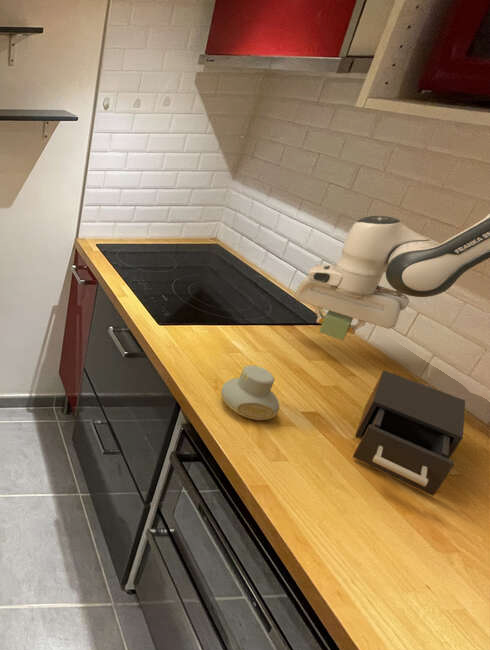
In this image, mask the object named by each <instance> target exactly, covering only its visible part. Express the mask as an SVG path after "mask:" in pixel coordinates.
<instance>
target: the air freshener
mask: <svg viewBox="0 0 490 650" xmlns="http://www.w3.org/2000/svg"><path fill="white" fill-rule="evenodd" d="M274 383H275V376H274V374H272V373H271V372H270V371H269V370H267V369H266V368H263V367H261V366H258V365H246V366H245V365H244V367H243V368H242V370H241V373H240V375H239V377H235V378H232V379H231V378H230V379H229V380H227V381H226V382H225V383H223V385H222V387H221V397H222V399H223V401H224V402H225V404H226V406H228V407H229V408H230V409H231V410H232V411H233V412H235V413H236V414H238V415H240V416H241V417H244V418H248V419H251V420H258V421H264V420H269V419H272V418H273V417H275V416H276V415H277V414H278V413H279V409H280V403H279V402H280V401H279V399H278V397H277V396H276V394H275V393H274V392H273V391H272V387H273V385H274Z"/></svg>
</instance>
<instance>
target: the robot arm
mask: <svg viewBox="0 0 490 650" xmlns="http://www.w3.org/2000/svg"><path fill="white" fill-rule="evenodd" d="M347 233H348V234H347V235H346V238H345V240H344V243H343V245H342V248H341V254H340V255H341V256H340V257H339V259H337V261H336V263H335V264H315V265H314V266H312V267H311V268H310V270H309V271H308V274H307V275H306V276H305V277H304V278H303V279H302V281H301V282H300V283H299V285H298V287H297V288H296V291H295V293H294V299H295V300H296V301H298V302H301V303H304V304H307V305H311V306H312V307H313V306H314V307H315V308H314V309H315V314H316V316H317V318H316V321H315V322H316V323H318V324H321V325H322V323H323V321H324V318H325V316H326V315H324V314H323V310H325V311H333V312H336V313H339V314H342V315H345V316H349V317H352V318H353V319H355V320H357V321H356V324H352V323H351V324H350V326H349V328H348V331H347V334H350V335H355V333H356V331H357V330H359V329H360V328H362V327H364V326H365V325H366V323H368V324H371V325H374V326H378V327H381V328H385V329H388V330H390V329H393V328H395V327H396V325H397V323H398V320H399V317H400V314H401V311H404V310H405V309H406V308H407V307H408V305H409V303H410V298H409V297H416V298H429V297H430V298H431V297H434V296H437V295H441V294H443V293H445V292H446V291H447V290H449V289H450V288H451V287H452V286H453V285H454V284H455V283H456V282H457V280H459V278H460V277H461V276H462V275H463V274H464V273H466V272H467V271H469V270H470V269H472V268H474V267H475V266H477V265H479V264H481V263H483V262H485V261H486V260H489V259H490V213H488V214H487V215H486V216H485V217H484V218H482V219H481V220H480V221H478V222H476V223H475V224H473V225H471V226H470V227H468V228H466V229H464V230H463V231H461V232H458V233H457V234H455V235H454V236H451V237H450V238H449V239H447V240H445V241H443V242H439V241H438V240H437V239H434V238H431V237H428V236H425V235H423V234H420V233H418V232H416V231H414V230H412V229H411V228H410V227H408V226H406V225H405V224H404V223H403V222H402V221H401V220H400V219H399V218H395V217H391V216H385V215H370V216H364V217H362V218H360V219H358V220H356V222H354V224H352V226H351V228H350V230H349V232H347ZM384 274H385V278H386V281H387V283H388V285H390V286H391V288H393V289H394V290H393V289H390V288H387V287H385V286H381V285H379V284H380V283H381V280H382V278H383V276H384ZM408 296H409V297H408Z"/></svg>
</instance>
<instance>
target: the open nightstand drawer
mask: <svg viewBox="0 0 490 650" xmlns="http://www.w3.org/2000/svg"><path fill="white" fill-rule="evenodd" d="M449 444H450V436H448V435H446V434H444V433H441V432H439V431H436V430H434V429H432V428H429V427H427V426H424V425H422V424H419V423H417V422H415V421H412V420H410V419H407V418H405V417H403V416H400V415H398V414H395V413H393V412H390V411H388V410H386V409H383V408H381V407H378V408H377V410H376V412H375V414H374V415H373V417H372V419H371V421H370V423H369V426H368V428H367V430H366V432H365V434H364V436H363V437H362V439H360V441H359V443H358V444H357V447H356V449H355V450H354V452H353V455H352V458H354V459H356V460H358V461H360V462H362V463H364V464H366V465H368V466H371V467H372V468H374V469H376V470H378V471H380V472H383V473H384V474H387V475H388V476H390V477H393V478H395V479H397V480H399V481H401V482H403V483H405V484H407V485H410V486H412V487H413V488H416V489H418V490H420V491H422V492H424V493H426V494H428V495H430V496H432V497H434V496H435V495H436V493H437V491H438V490H439V488H440V487H441V485H442V484H443V482H444V481H445V480H446V478H447V476H448V475H449V473H450V472H451V470H452V469H453V468H454V466H455V461H454V460H452V459H450V458H449V459H447V457H448V454H449Z"/></svg>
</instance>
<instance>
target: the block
mask: <svg viewBox="0 0 490 650" xmlns="http://www.w3.org/2000/svg"><path fill="white" fill-rule="evenodd" d="M324 316H325V318H324V321H323V323H322V324H321V326H320V328H319V331H318V333H320V334H322V335H326V336H329V337H331V338H334V339H337V340H340V341H344V339H345V338H346V336H347V334H348V332H347V331H348V328H349V326H350V324H351V325H352V322H353V320H354V318H352V317H349V316H345V315H342V314H339V313H336V312H333V311H329V310H327V313H326V314H325V315H324Z"/></svg>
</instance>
